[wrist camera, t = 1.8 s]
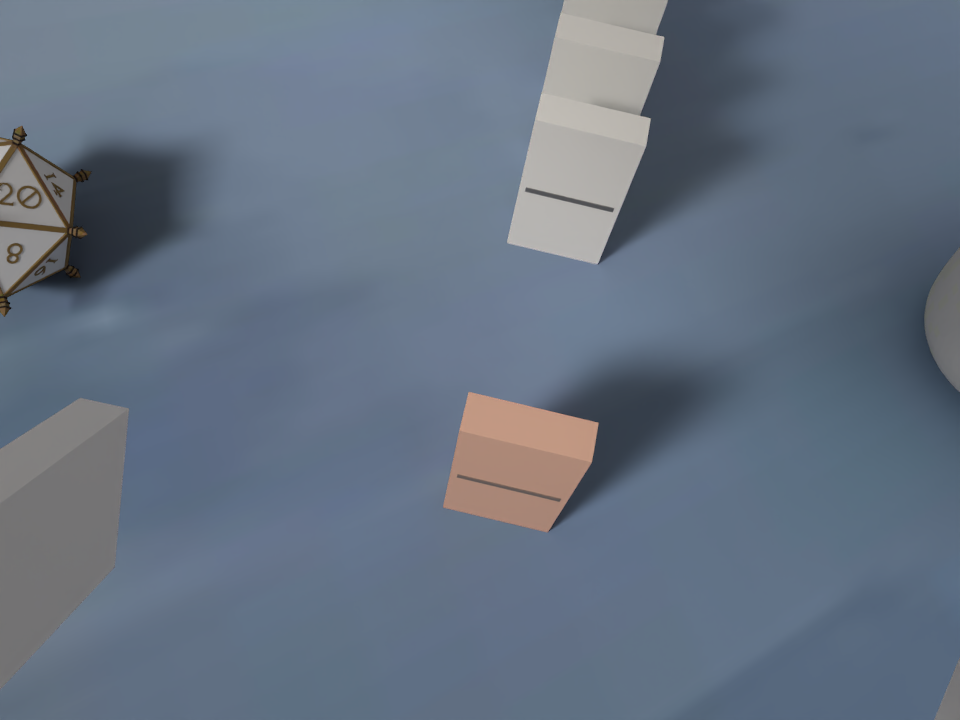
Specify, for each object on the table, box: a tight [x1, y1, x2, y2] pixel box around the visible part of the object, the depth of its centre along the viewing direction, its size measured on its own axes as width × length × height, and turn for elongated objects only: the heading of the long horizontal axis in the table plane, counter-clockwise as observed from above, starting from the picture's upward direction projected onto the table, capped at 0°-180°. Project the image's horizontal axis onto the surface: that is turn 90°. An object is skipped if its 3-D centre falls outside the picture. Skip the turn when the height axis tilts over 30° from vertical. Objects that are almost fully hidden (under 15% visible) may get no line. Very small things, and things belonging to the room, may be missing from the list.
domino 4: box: [443, 392, 599, 532], centre depth 39 cm, size 2×5×10 cm, turn 78°
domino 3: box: [507, 93, 651, 265], centre depth 45 cm, size 2×5×10 cm, turn 78°
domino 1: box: [561, 0, 668, 35], centre depth 50 cm, size 2×5×10 cm, turn 77°
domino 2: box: [542, 13, 664, 116], centre depth 47 cm, size 2×5×10 cm, turn 78°
